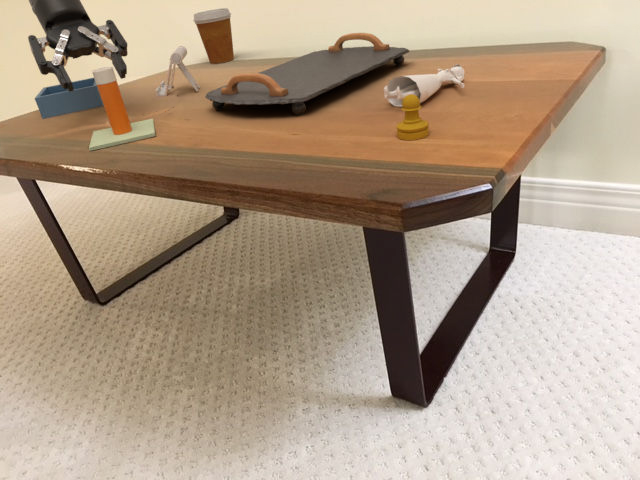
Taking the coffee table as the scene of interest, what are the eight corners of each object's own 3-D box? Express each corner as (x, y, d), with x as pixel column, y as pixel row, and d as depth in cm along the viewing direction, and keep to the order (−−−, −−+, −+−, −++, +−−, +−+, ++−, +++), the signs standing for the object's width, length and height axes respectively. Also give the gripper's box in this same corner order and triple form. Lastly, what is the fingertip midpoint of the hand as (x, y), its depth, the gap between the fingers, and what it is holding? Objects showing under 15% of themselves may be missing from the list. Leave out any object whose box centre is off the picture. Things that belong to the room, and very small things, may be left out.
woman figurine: (359, 77, 79) (430, 57, 90) (361, 108, 80) (430, 84, 92) (426, 81, 71) (495, 58, 82) (426, 115, 73) (493, 88, 84)
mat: (90, 151, 82) (88, 147, 82) (94, 134, 91) (93, 131, 91) (155, 136, 84) (154, 132, 84) (153, 121, 93) (153, 118, 93)
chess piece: (410, 127, 70) (408, 89, 67) (435, 131, 67) (433, 91, 64) (390, 137, 67) (387, 97, 65) (415, 141, 65) (412, 100, 62)
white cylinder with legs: (164, 91, 115) (153, 50, 111) (201, 85, 115) (191, 44, 111) (158, 101, 107) (145, 57, 103) (197, 94, 108) (186, 50, 104)
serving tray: (325, 61, 118) (321, 31, 115) (421, 60, 105) (419, 26, 102) (193, 115, 92) (183, 79, 90) (297, 123, 79) (289, 80, 76)
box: (44, 122, 105) (34, 98, 103) (52, 110, 115) (43, 87, 113) (104, 109, 108) (96, 85, 105) (107, 98, 118) (100, 76, 115)
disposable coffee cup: (197, 67, 137) (185, 16, 131) (212, 59, 145) (201, 11, 139) (232, 63, 134) (221, 11, 129) (245, 55, 142) (235, 6, 137)
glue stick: (112, 136, 86) (91, 72, 81) (113, 131, 88) (92, 69, 84) (132, 132, 86) (112, 68, 82) (132, 127, 89) (112, 65, 84)
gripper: (7, -4, 84) (49, 77, 81) (98, -19, 91) (140, 55, 87) (16, 31, 91) (55, 107, 88) (100, 15, 97) (139, 85, 94)
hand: (97, 81), depth 87 cm, fingers open, 8 cm apart
